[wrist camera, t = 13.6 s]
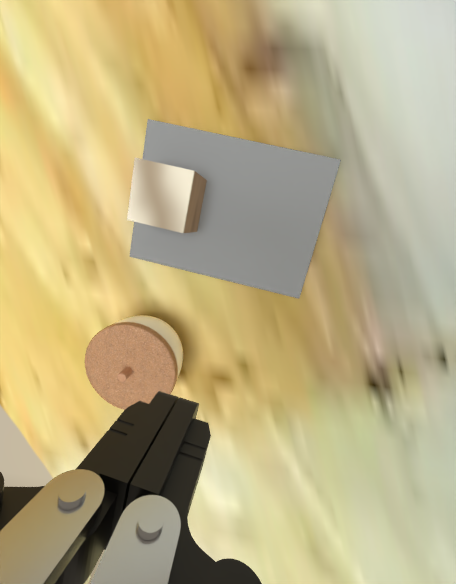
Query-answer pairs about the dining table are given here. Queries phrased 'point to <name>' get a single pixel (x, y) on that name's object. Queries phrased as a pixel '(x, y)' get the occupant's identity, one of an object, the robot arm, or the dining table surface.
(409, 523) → the dining table surface
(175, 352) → the lidded jar
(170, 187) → the walnut cube
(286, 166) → the mat
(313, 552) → the dining table surface
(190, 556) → the robot arm
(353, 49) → the dining table surface
